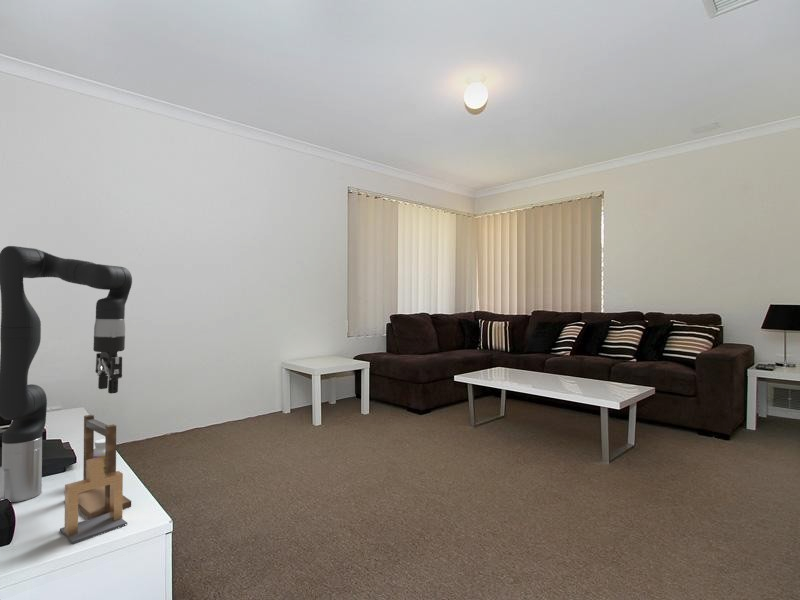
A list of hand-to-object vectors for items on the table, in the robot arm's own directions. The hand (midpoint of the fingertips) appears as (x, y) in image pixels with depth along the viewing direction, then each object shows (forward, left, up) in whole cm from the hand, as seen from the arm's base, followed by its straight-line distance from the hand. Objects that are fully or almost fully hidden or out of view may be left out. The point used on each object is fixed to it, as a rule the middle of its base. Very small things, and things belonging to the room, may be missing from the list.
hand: (107, 390), depth 127 cm
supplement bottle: (+6, +24, -33) cm, 41 cm away
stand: (-1, +5, -33) cm, 33 cm away
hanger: (-6, -11, -33) cm, 35 cm away
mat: (-7, -11, -33) cm, 36 cm away
